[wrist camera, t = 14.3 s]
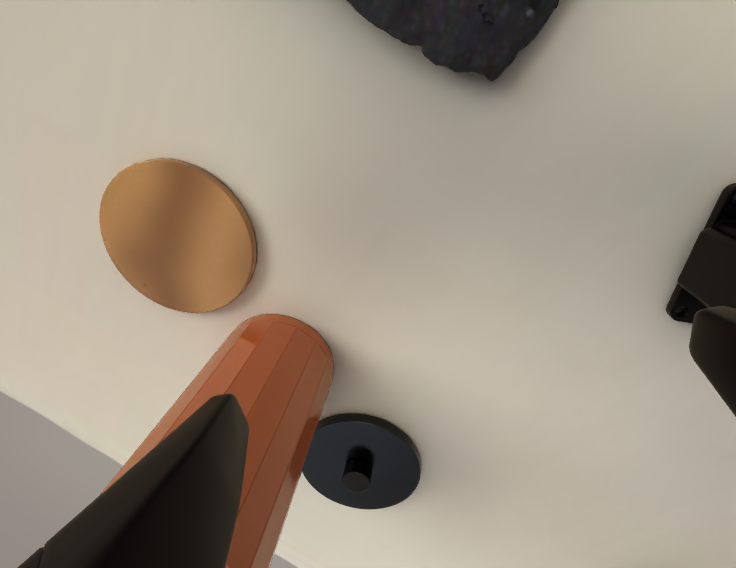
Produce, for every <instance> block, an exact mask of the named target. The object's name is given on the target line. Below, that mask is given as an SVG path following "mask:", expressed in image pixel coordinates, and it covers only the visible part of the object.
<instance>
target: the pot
mask: <svg viewBox="0 0 736 568" xmlns="http://www.w3.org/2000/svg"><path fill="white" fill-rule="evenodd" d="M333 375H334V362H333V358H332V354H331V352H330V350H329V348H328V346H327V344H326V342H325V341H324V340H323V339H322V337H321V336H320V335H319V334H318V333H317V332H316V331H314V330H313V329H312V328H311V327H309V326H308V325H306V324H305V323H303V322H301V321H299V320H297V319H294V318H291V317H288V316H284V315H277V314H266V315H259V316H255V317H252V318H250V319H247V320H246V321H244V322H242V323H241V324H240V325H239V326H238V327H237V328H236V329H235V330H234V331H233V332H232V333H231V334H230V336H229V337H228V338H227V339H226V340H225V342H224V343H223V344H222V345H221V347H220V348H219V349H218V350H217V352H216V353H215V354H214V355H213V356H212V358H211V359H210V360H209V361H208V363H207V364H206V365H205V366H204V368H203V369H202V370H201V371H200V372H199V374H198V375H197V376H196V377H195V379H194V380H193V381H192V382H191V384H190V385H189V386H188V387H187V388H186V390H185V391H184V392H183V393H182V395H181V396H180V397H179V398H178V400H177V401H176V402H175V403H174V404H173V406H172V407H171V408H170V409H169V411H168V412H167V413H166V414H165V416H164V417H163V418H162V419H161V420H160V422H159V423H158V424H157V425H156V427H155V428H154V429H153V430H152V431H151V433H150V434H149V435H148V436H147V438H146V439H145V440H144V441H143V443H142V444H141V445H140V446H139V447H138V449H137V450H136V451H135V452H134V454H133V455H132V456H131V457H130V459H129V460H128V461H127V462H126V463H125V465H124V466H123V467H122V468H121V470H120V471H119V472H118V473H117V475H116V476H115V477H114V478H113V479H112V481H111V482H110V483H109V484H108V486H107V487H106V488H105V489H104V491H105V490H107V489H108V488H109V487H110V486H111V485H112V484H113V483H114V482H116V481H117V480H118V479H119V478H120V477H121V476H122V475H124V474H125V473H126V472H127V471H128V470H129V469H130V468H132V467H133V466H134V465H135V464H136V463H137V462H138V461H139V460H141V459H142V458H143V457H144V456H145V455H146V454H147V453H149V452H150V451H151V450H152V449H153V448H154V447H155V446H156V445H158V444H159V443H160V442H161V441H162V440H163V439H164V438H166V437H167V436H168V435H169V434H170V433H171V432H172V431H174V430H175V429H176V428H177V427H178V426H179V425H180V424H181V423H183V422H184V421H185V420H186V419H187V418H188V417H189V416H191V415H192V414H193V413H194V412H195V411H196V410H197V409H198V408H200V407H201V406H202V405H203V404H204V403H205V402H206V401H208V400H209V399H210V398H211V397H213V396H216V395H221V394H227V393H231V394H234V395H235V396H236V398H237V400H238V402H239V404H240V406H241V409H242V411H243V413H244V415H245V417H246V419H247V422H248V425H249V437H248V445H247V453H246V461H245V469H244V476H243V484H242V492H241V499H240V505H239V510H238V515H237V520H236V524H235V528H234V532H233V537H232V541H231V545H230V549H229V554H228V558H227V562H226V566H225V568H270V565H271V562H272V559H273V556H274V553H275V550H276V547H277V544H278V541H279V538H280V535H281V532H282V529H283V526H284V523H285V520H286V517H287V514H288V511H289V508H290V505H291V502H292V499H293V496H294V493H295V490H296V487H297V484H298V481H299V478H300V476H301V473H302V470H303V467H304V464H305V461H306V458H307V455H308V452H309V449H310V446H311V443H312V440H313V437H314V434H315V431H316V428H317V425H318V422H319V419H320V416H321V413H322V410H323V407H324V404H325V401H326V398H327V395H328V392H329V388H330V385H331V382H332V379H333ZM104 491H103V492H104ZM103 492H102V493H103ZM102 493H101V494H102ZM101 494H100V495H101Z"/></svg>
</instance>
